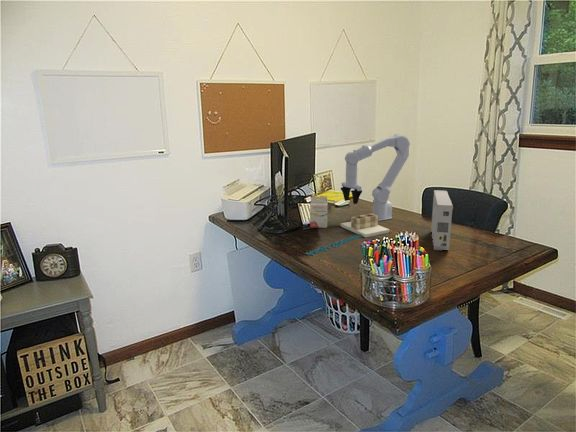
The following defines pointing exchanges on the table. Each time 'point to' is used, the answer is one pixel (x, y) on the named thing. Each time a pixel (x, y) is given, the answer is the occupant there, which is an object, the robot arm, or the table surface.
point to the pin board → (366, 230)
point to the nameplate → (333, 245)
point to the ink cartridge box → (318, 212)
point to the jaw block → (364, 221)
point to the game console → (441, 220)
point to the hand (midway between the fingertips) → (351, 202)
